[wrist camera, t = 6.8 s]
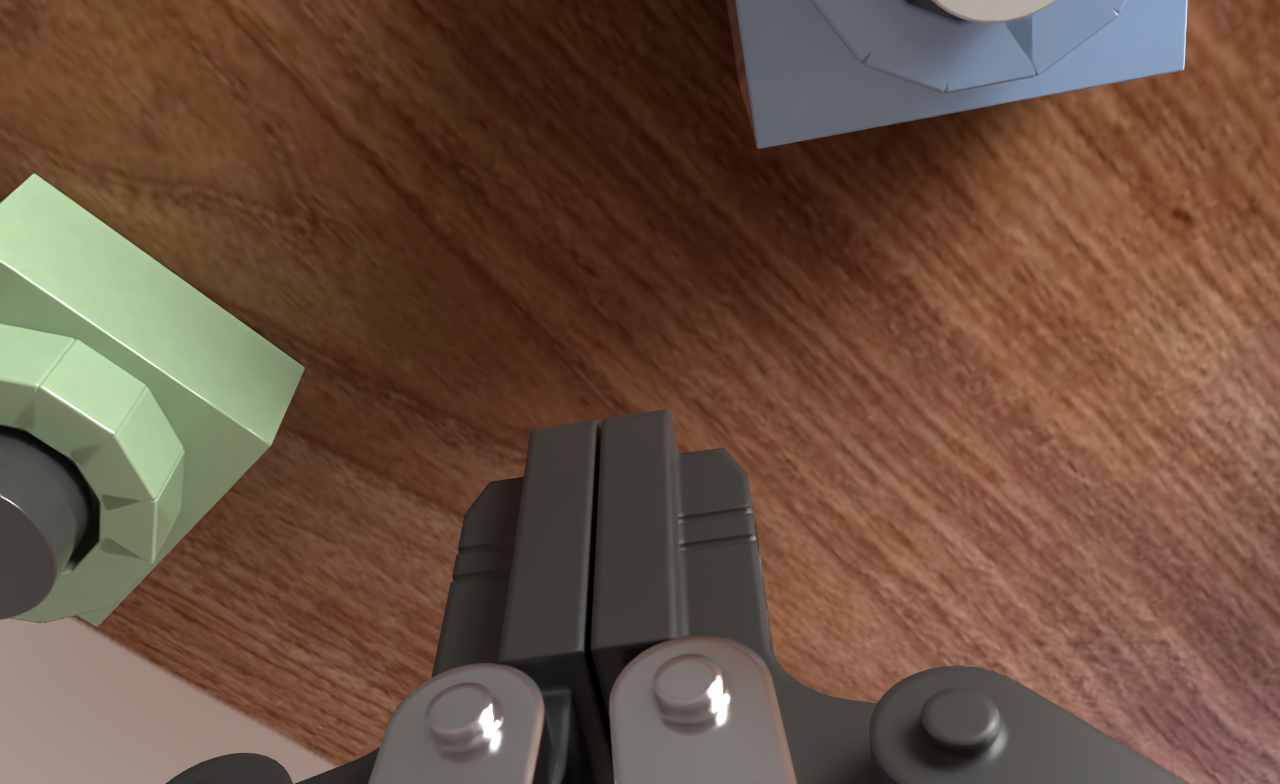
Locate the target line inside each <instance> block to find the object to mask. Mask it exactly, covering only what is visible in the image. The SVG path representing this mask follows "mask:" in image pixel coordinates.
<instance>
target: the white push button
mask: <svg viewBox="0 0 1280 784" xmlns="http://www.w3.org/2000/svg"><path fill="white" fill-rule="evenodd" d="M932 1H933V2H934V3H935V4H936V5H937V6H939V7H940V8H942V9H943V10H945V11H946V12H948V13H949V14H952V15H954V16H956V17H958V18H961V19H964V20H968V21H971V22H978V23H1003V22H1010V21H1014V20H1018V19H1022V18H1024V17H1027V16H1029V15H1032V14H1034V13H1036V12H1038V11H1040V10H1042V9H1044V8H1046V7H1047V6H1049V5H1050V4H1052V3H1053V2H1055V1H1056V0H932Z"/></svg>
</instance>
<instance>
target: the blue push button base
mask: <svg viewBox="0 0 1280 784" xmlns="http://www.w3.org/2000/svg"><path fill="white" fill-rule="evenodd" d="M726 1H727V7H728V14H729V21H730V28H731V34H732V41H733V48H734V54H735V61H736V68H737V75H738V81H739V85H740V89H741V92H742V96H743V100H744V103H745V107H746V110H747V114H748V118H749V121H750V125H751V129H752V132H753V136H754V139H755V143H756V147H757V148H758V149H762V148H767V147H773V146H778V145H783V144H789V143H794V142H800V141H805V140H810V139H816V138H821V137H827V136H832V135H838V134H843V133H848V132H854V131H859V130H865V129H870V128H875V127H881V126H886V125H892V124H897V123H902V122H908V121H913V120H919V119H924V118H929V117H935V116H940V115H946V114H951V113H957V112H962V111H967V110H973V109H978V108H984V107H989V106H994V105H1000V104H1005V103H1011V102H1016V101H1021V100H1027V99H1032V98H1038V97H1043V96H1049V95H1054V94H1059V93H1065V92H1070V91H1076V90H1081V89H1086V88H1092V87H1097V86H1103V85H1108V84H1113V83H1119V82H1124V81H1130V80H1135V79H1140V78H1146V77H1151V76H1157V75H1162V74H1168V73H1173V72H1178V71H1183V70H1184V64H1185V43H1186V22H1187V0H1056V1H1055V2H1053V3H1052V4H1050V5H1049V6H1047V7H1046V8H1044V9H1042V10H1040V11H1038V12H1036V13H1034V14H1032V15H1029V16H1027V17H1024V18H1022V19H1018V20H1014V21H1010V22H1003V23H978V22H971V21H968V20H964V19H961V18H958V17H956V16H954V15H952V14H949V13H948V12H946V11H945V10H943V9H942V8H940V7H939V6H937V5H936V4H935V3H934V2H933V1H932V0H726Z"/></svg>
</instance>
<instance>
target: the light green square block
mask: <svg viewBox="0 0 1280 784" xmlns="http://www.w3.org/2000/svg"><path fill="white" fill-rule="evenodd" d="M304 370H305V367H304V366H302V365H301V364H300V363H298V362H297V361H295V360H294V359H293V358H291V357H290V356H288V355H287V354H286V353H284V352H283V351H281V350H280V349H279V348H277V347H276V346H275V345H273V344H272V343H270V342H269V341H268V340H266V339H265V338H263V337H262V336H261V335H259V334H258V333H256V332H255V331H254V330H252V329H251V328H249V327H248V326H247V325H245V324H244V323H242V322H241V321H240V320H238V319H237V318H236V317H234V316H233V315H231V314H230V313H229V312H227V311H226V310H224V309H223V308H222V307H220V306H219V305H217V304H216V303H215V302H213V301H212V300H210V299H209V298H208V297H206V296H205V295H203V294H202V293H201V292H199V291H198V290H197V289H195V288H194V287H192V286H191V285H190V284H188V283H187V282H185V281H184V280H183V279H181V278H180V277H178V276H177V275H176V274H174V273H173V272H171V271H170V270H169V269H167V268H166V267H164V266H163V265H162V264H160V263H159V262H158V261H156V260H155V259H153V258H152V257H151V256H149V255H148V254H146V253H145V252H144V251H142V250H141V249H139V248H138V247H137V246H135V245H134V244H132V243H131V242H130V241H128V240H127V239H125V238H124V237H123V236H121V235H120V234H119V233H117V232H116V231H114V230H113V229H112V228H110V227H109V226H107V225H106V224H105V223H103V222H102V221H100V220H99V219H98V218H96V217H95V216H93V215H92V214H91V213H89V212H88V211H87V210H85V209H84V208H82V207H81V206H80V205H78V204H77V203H75V202H74V201H73V200H71V199H70V198H68V197H67V196H66V195H64V194H63V193H61V192H60V191H59V190H57V189H56V188H54V187H53V186H52V185H50V184H49V183H48V182H46V181H45V180H43V179H42V178H41V177H39V176H38V175H36V174H32V175H31V176H30V177H28V178H27V179H26V180H25V181H24V182H23V183H22V184H21V185H19V186H18V187H17V188H16V189H15V190H14V191H13V192H12V193H11V194H9V195H8V196H7V197H6V198H5V199H4V200H3V201H2V202H0V425H2V426H7V427H13V428H17V429H19V430H22V431H25V432H28V433H30V434H31V435H33V436H34V437H36V438H38V439H39V440H41V441H42V442H44V443H46V444H47V445H49V446H50V447H52V448H53V449H55V450H57V451H58V452H60V453H61V454H63V455H65V456H66V457H68V459H69V460H70V461H71V462H72V463H73V464H74V465H75V466H76V468H77V469H78V470H79V472H80V473H81V474H82V476H83V478H84V480H85V481H86V483H87V486H88V488H89V491H90V495H91V499H92V519H91V522H90V526H89V528H88V530H87V532H86V534H85V535H84V537H83V539H82V540H81V542H80V544H79V545H78V547H77V549H76V550H75V552H74V554H73V555H72V557H71V559H70V560H69V562H68V564H67V565H66V567H65V568H64V570H63V572H62V573H61V575H60V577H59V578H58V580H57V582H56V583H55V585H54V587H53V588H52V590H51V592H50V593H49V594H48V596H47V597H46V598H45V599H44V600H43V601H42V602H41V603H40V604H39V605H37V606H36V607H34V608H33V609H31V610H30V611H28V612H25V613H23V614H21V615H18V616H15V617H12V619H18V620H24V621H31V622H37V623H41V622H43V623H47V622H51V621H55V620H59V619H63V618H67V617H71V616H75V615H77V616H78V617H80V618H82V619H83V620H85V621H87V622H89V623H90V624H92V625H94V626H96V627H98V626H99V625H100V624H101V623H102V622H103V621H104V620H105V619H106V618H107V617H108V616H109V615H110V614H111V612H112V611H113V610H114V609H115V608H116V607H117V606H118V605H119V604H120V603H121V602H122V601H123V600H124V599H125V598H126V597H127V596H128V595H129V594H130V593H131V592H132V591H133V590H134V589H135V587H136V586H137V585H138V584H139V583H140V582H141V581H142V580H143V579H144V578H145V577H146V576H147V575H148V574H149V573H150V572H151V571H152V570H153V569H154V568H155V567H156V566H157V565H158V563H159V562H160V561H161V560H162V559H163V558H164V557H165V556H166V555H167V554H168V553H169V552H170V551H171V550H172V549H173V548H174V547H175V546H176V545H177V544H178V543H179V542H180V541H181V539H182V538H183V537H184V536H185V535H186V534H187V533H188V532H189V531H190V530H191V529H192V528H193V527H194V526H195V525H196V524H197V523H198V522H199V521H200V520H201V519H202V518H203V517H204V515H205V514H206V513H207V512H208V511H209V510H210V509H211V508H212V507H213V506H214V505H215V504H216V503H217V502H218V501H219V500H220V499H221V498H222V497H223V496H224V495H225V494H226V493H227V491H228V490H229V489H230V488H231V487H232V486H233V485H234V484H235V483H236V482H237V481H238V480H239V479H240V478H241V477H242V476H243V475H244V474H245V473H246V472H247V471H248V470H249V469H250V467H251V466H252V465H253V464H254V463H255V462H256V461H257V460H258V459H259V458H260V457H261V456H262V455H263V454H264V453H265V452H266V451H267V450H268V449H269V448H270V447H271V445H272V443H273V441H274V438H275V436H276V434H277V432H278V429H279V427H280V425H281V422H282V420H283V418H284V416H285V413H286V411H287V409H288V406H289V404H290V402H291V400H292V397H293V395H294V393H295V390H296V388H297V386H298V384H299V381H300V379H301V377H302V375H303V372H304Z"/></svg>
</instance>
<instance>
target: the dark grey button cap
mask: <svg viewBox="0 0 1280 784" xmlns="http://www.w3.org/2000/svg"><path fill="white" fill-rule="evenodd" d="M91 519H92V499H91V495H90V491H89V488H88V486H87V483H86V481H85V480H84V478H83V476H82V474H81V473H80V472H79V470H78V469H77V468H76V466H75V465H74V464H73V463H72V462H71V461H70V460H69V459H68V457H66V456H65V455H63V454H61V453H60V452H58V451H57V450H55V449H53V448H52V447H50V446H49V445H47V444H46V443H44V442H42V441H41V440H39V439H38V438H36V437H34V436H33V435H31V434H30V433H28V432H25V431H22V430H19V429H17V428H13V427H7V426H2V425H0V620H1V619H7V618H12V617H15V616H18V615H21V614H23V613H25V612H28V611H30V610H31V609H33V608H34V607H36V606H37V605H39V604H40V603H41V602H42V601H43V600H44V599H45V598H46V597H47V596H48V594H49V593H50V592H51V590H52V588H53V587H54V585H55V583H56V582H57V580H58V578H59V577H60V575H61V573H62V572H63V570H64V568H65V567H66V565H67V564H68V562H69V560H70V559H71V557H72V555H73V554H74V552H75V550H76V549H77V547H78V545H79V544H80V542H81V540H82V539H83V537H84V535H85V534H86V532H87V530H88V528H89V526H90V522H91Z"/></svg>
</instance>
